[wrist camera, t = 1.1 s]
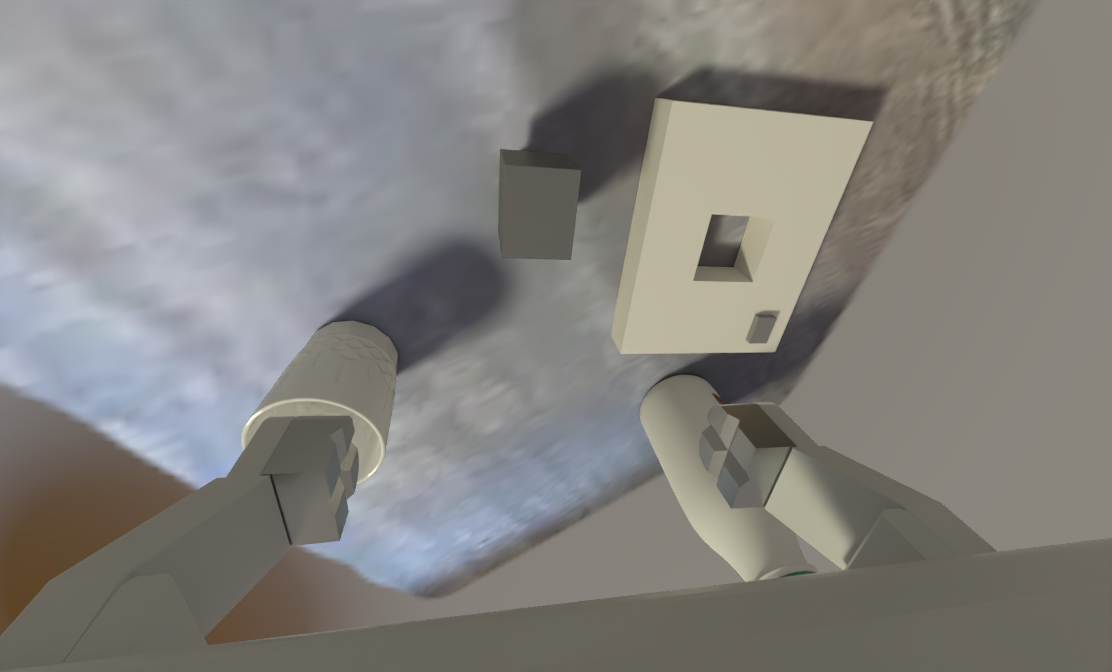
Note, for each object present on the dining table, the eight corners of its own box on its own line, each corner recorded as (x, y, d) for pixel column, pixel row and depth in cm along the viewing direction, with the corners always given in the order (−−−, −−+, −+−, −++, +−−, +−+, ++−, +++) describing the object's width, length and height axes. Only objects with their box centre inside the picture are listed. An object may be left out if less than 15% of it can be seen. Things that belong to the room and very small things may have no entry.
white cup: (418, 330, 34) (399, 416, 26) (392, 403, 37) (368, 500, 29) (309, 299, 31) (249, 383, 23) (292, 381, 35) (234, 481, 26)
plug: (498, 143, 28) (505, 164, 22) (559, 148, 29) (581, 170, 23) (496, 220, 30) (502, 257, 24) (552, 222, 31) (570, 259, 25)
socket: (655, 97, 28) (676, 101, 25) (840, 117, 31) (880, 122, 28) (610, 334, 37) (622, 358, 34) (756, 334, 40) (779, 356, 37)
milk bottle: (629, 431, 44) (724, 656, 27) (649, 370, 40) (774, 588, 23) (697, 431, 46) (827, 643, 29) (723, 372, 42) (889, 577, 25)
